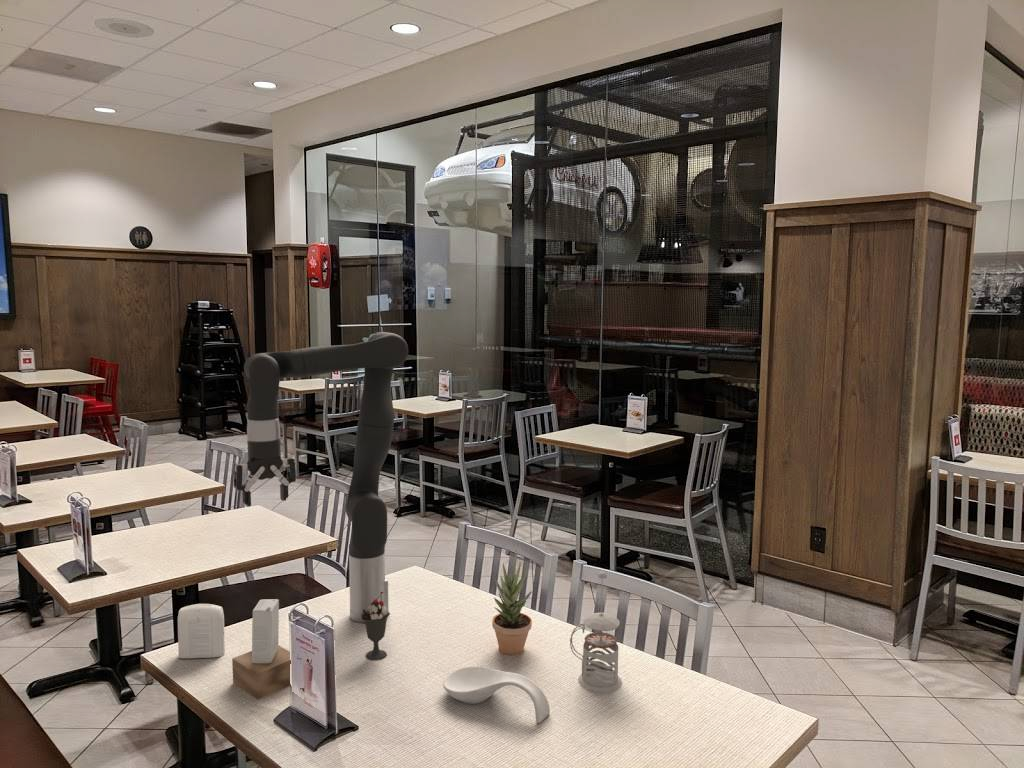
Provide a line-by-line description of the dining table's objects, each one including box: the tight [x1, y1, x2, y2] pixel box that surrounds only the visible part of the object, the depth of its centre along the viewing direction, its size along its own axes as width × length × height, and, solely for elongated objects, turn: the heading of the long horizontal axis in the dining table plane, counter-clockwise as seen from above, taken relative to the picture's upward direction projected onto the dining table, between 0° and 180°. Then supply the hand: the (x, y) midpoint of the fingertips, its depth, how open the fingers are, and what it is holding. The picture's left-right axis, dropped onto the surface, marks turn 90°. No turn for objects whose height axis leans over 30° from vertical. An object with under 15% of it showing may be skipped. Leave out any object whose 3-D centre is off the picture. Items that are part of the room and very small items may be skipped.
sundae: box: [361, 592, 391, 661], centre depth 172 cm, size 7×7×15 cm
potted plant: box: [491, 549, 533, 655], centre depth 176 cm, size 10×10×25 cm
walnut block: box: [231, 644, 291, 701], centre depth 160 cm, size 10×10×6 cm
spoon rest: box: [442, 666, 551, 724], centre depth 153 cm, size 24×12×7 cm, turn 61°
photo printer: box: [177, 603, 226, 659], centre depth 172 cm, size 10×4×12 cm, turn 98°
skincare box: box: [251, 598, 280, 664], centre depth 159 cm, size 6×4×12 cm
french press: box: [569, 571, 623, 694], centre depth 161 cm, size 10×12×25 cm
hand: (265, 502), depth 178 cm, fingers open, 8 cm apart
